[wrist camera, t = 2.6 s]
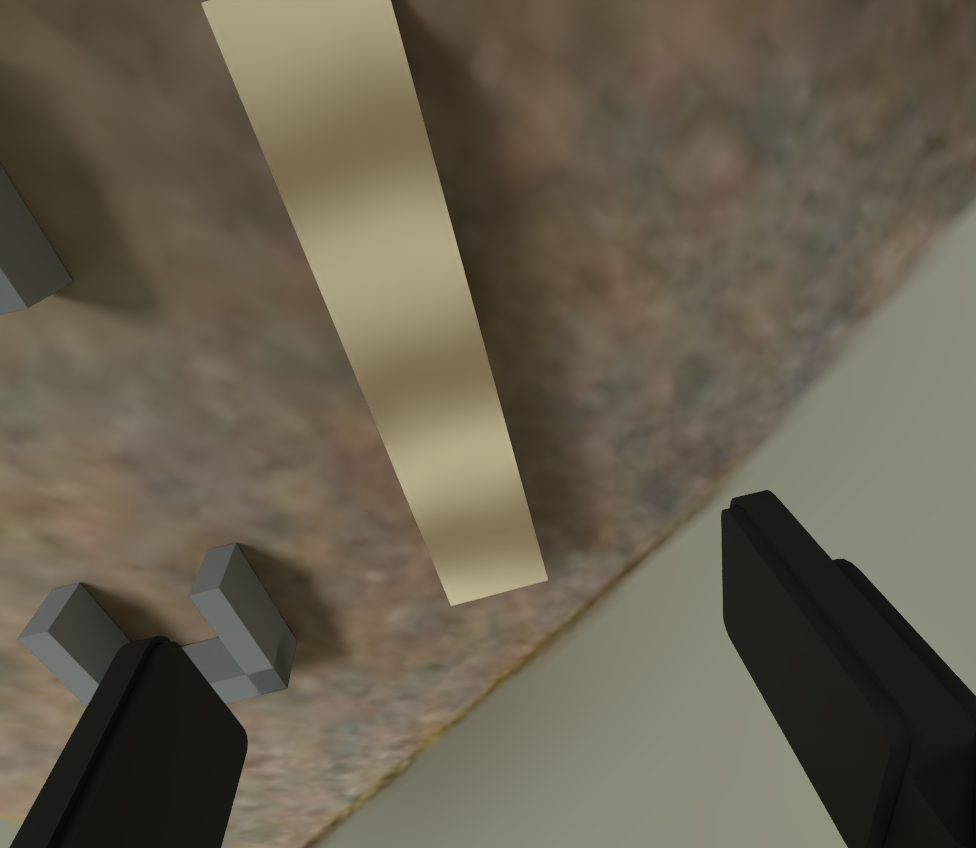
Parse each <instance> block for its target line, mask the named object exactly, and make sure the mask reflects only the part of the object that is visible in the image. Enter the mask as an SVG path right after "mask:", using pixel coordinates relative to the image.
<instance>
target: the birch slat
mask: <svg viewBox="0 0 976 848" xmlns="http://www.w3.org/2000/svg"><path fill="white" fill-rule="evenodd" d="M201 4H202V7H203V9H204V12H205V14H206V16H207V19H208V21H209V24H210V26H211V28H212V31H213V33H214V36H215V38H216V40H217V43H218V45H219V48H220V50H221V53H222V55H223V57H224V60H225V62H226V65H227V67H228V69H229V72H230V74H231V77H232V79H233V81H234V84H235V86H236V89H237V91H238V94H239V96H240V98H241V101H242V103H243V106H244V108H245V110H246V113H247V115H248V118H249V120H250V122H251V125H252V127H253V130H254V132H255V134H256V137H257V139H258V142H259V144H260V147H261V149H262V151H263V154H264V156H265V159H266V161H267V163H268V166H269V168H270V171H271V173H272V175H273V178H274V180H275V183H276V185H277V188H278V190H279V192H280V195H281V197H282V200H283V202H284V204H285V207H286V209H287V212H288V214H289V216H290V219H291V221H292V224H293V226H294V228H295V231H296V233H297V236H298V238H299V241H300V243H301V245H302V248H303V250H304V253H305V255H306V257H307V260H308V262H309V265H310V267H311V269H312V272H313V274H314V277H315V279H316V282H317V284H318V286H319V289H320V291H321V294H322V296H323V298H324V301H325V303H326V306H327V308H328V310H329V313H330V315H331V318H332V320H333V322H334V325H335V327H336V330H337V332H338V335H339V337H340V339H341V342H342V344H343V347H344V349H345V351H346V354H347V356H348V359H349V361H350V363H351V366H352V368H353V371H354V373H355V376H356V378H357V380H358V383H359V385H360V388H361V390H362V392H363V395H364V397H365V400H366V402H367V404H368V407H369V409H370V412H371V414H372V417H373V419H374V421H375V424H376V426H377V429H378V431H379V433H380V436H381V438H382V441H383V443H384V445H385V448H386V450H387V453H388V455H389V457H390V460H391V462H392V465H393V467H394V470H395V472H396V474H397V477H398V479H399V482H400V484H401V486H402V489H403V491H404V494H405V496H406V498H407V501H408V503H409V506H410V508H411V511H412V513H413V515H414V518H415V520H416V523H417V525H418V527H419V530H420V532H421V535H422V537H423V539H424V542H425V544H426V547H427V549H428V551H429V554H430V556H431V559H432V561H433V564H434V566H435V568H436V571H437V573H438V576H439V578H440V580H441V583H442V585H443V588H444V590H445V592H446V595H447V597H448V600H449V602H450V605H451V606H453V605H457V604H461V603H464V602H468V601H472V600H476V599H480V598H483V597H487V596H491V595H495V594H498V593H502V592H506V591H510V590H514V589H517V588H521V587H525V586H529V585H532V584H536V583H540V582H544V581H548V578H547V574H546V571H545V567H544V563H543V560H542V556H541V552H540V549H539V545H538V541H537V538H536V534H535V530H534V527H533V523H532V519H531V515H530V512H529V508H528V504H527V501H526V497H525V493H524V490H523V486H522V482H521V479H520V475H519V471H518V467H517V464H516V460H515V456H514V453H513V449H512V445H511V442H510V438H509V434H508V431H507V427H506V423H505V419H504V416H503V412H502V408H501V405H500V401H499V397H498V394H497V390H496V386H495V383H494V379H493V375H492V372H491V368H490V364H489V360H488V357H487V353H486V349H485V346H484V342H483V338H482V335H481V331H480V327H479V324H478V320H477V316H476V312H475V309H474V305H473V301H472V298H471V294H470V290H469V287H468V283H467V279H466V276H465V272H464V268H463V265H462V261H461V257H460V253H459V250H458V246H457V242H456V239H455V235H454V231H453V228H452V224H451V220H450V217H449V213H448V209H447V205H446V202H445V198H444V194H443V191H442V187H441V183H440V180H439V176H438V172H437V169H436V165H435V161H434V158H433V154H432V150H431V146H430V143H429V139H428V135H427V132H426V128H425V124H424V121H423V117H422V113H421V110H420V106H419V102H418V98H417V95H416V91H415V87H414V84H413V80H412V76H411V73H410V69H409V65H408V62H407V58H406V54H405V50H404V47H403V43H402V39H401V36H400V32H399V28H398V25H397V21H396V17H395V14H394V10H393V6H392V3H391V0H209V1H205V2H202V3H201Z"/></svg>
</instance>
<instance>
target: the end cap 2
mask: <svg viewBox="0 0 976 848" xmlns="http://www.w3.org/2000/svg"><path fill="white" fill-rule="evenodd" d="M188 596H189V597H190V599H191V600H192V601H193V603H194V604H195V606H196V607H197V608H198V610H199V611H200V612H201V614H202V615H203V616H204V618H205V619H206V621H207V622H208V623H209V625H210V626H211V627H212V629H213V630H214V632H215V633H216V634H217V636H218V638H214V639H210V640H206V641H202V642H198V643H194V644H190V645H186V646H182V649H183V650H184V651H185V652H186V654H187V655H188V656H189V658H190V659H191V660H192V662H193V663H194V664H195V665H196V667H197V668H198V669H199V671H200V672H201V673H202V675H203V676H204V677H205V678H206V680H207V681H208V682H209V684H210V685H211V686H212V688H213V689H214V690H215V691H216V693H217V694H218V695H219V697H220V698H221V699H222V701H223V702H224V703H225V704H228V703H232V702H236V701H240V700H244V699H248V698H252V697H256V696H260V695H264V694H268V693H272V692H276V691H280V690H284V689H287V688H288V683H289V678H290V673H291V668H292V663H293V659H294V654H295V649H296V644H297V640H296V639H295V637H294V636H293V634H292V632H291V631H290V629H289V628H288V626H287V624H286V623H285V621H284V619H283V618H282V616H281V615H280V613H279V611H278V610H277V608H276V607H275V605H274V603H273V602H272V600H271V599H270V597H269V595H268V594H267V592H266V591H265V589H264V587H263V586H262V584H261V583H260V581H259V579H258V578H257V576H256V574H255V573H254V571H253V570H252V568H251V566H250V565H249V563H248V562H247V560H246V558H245V557H244V555H243V554H242V552H241V550H240V549H239V547H238V546H237V544H236V543H234V544H230V545H226V546H222V547H218V548H214V549H210V550H208V552H207V554H206V556H205V559H204V561H203V563H202V566H201V568H200V570H199V572H198V575H197V577H196V579H195V582H194V584H193V586H192V589H191V591H190V593H189V595H188ZM17 639H18V640H19V641H20V642H21V643H22V644H23V645H24V646H25V647H26V648H27V649H28V650H29V651H30V652H31V653H32V654H33V655H34V656H35V657H36V658H37V659H38V660H39V661H40V662H41V663H42V664H43V665H44V666H45V667H46V668H47V669H48V670H49V671H50V672H51V673H52V674H53V675H54V676H55V677H56V678H57V679H58V680H59V681H61V682H62V683H63V684H64V685H65V686H66V687H67V688H68V689H69V690H70V691H71V692H72V693H73V694H74V695H75V696H76V697H77V698H78V699H79V700H80V701H81V702H82V703H83V704H84V705H85V706H86V707H87V706H88V704H89V702H90V700H91V699H92V697H93V695H94V693H95V691H96V690H97V688H98V686H99V684H100V682H101V680H102V679H103V677H104V675H105V673H106V671H107V670H108V668H109V666H110V664H111V662H112V660H113V659H114V657H115V655H116V653H117V652H118V651H119V649H120V648H121V647H122V646H123V645H125V644H127V643H131V642H130V641H129V639H128V638H127V637H126V636H125V635H124V634H123V632H122V631H121V630H120V629H119V628H118V627H117V625H116V624H115V623H114V622H113V621H112V620H111V618H110V617H109V616H108V615H107V614H106V613H105V612H104V610H103V609H102V608H101V607H100V606H99V605H98V603H97V602H96V601H95V600H94V599H93V598H92V596H91V595H90V594H89V593H88V592H87V591H86V589H85V588H84V587H83V586H82V585H81V584H80V583H76V584H72V585H68V586H65V587H61V588H57V589H53V590H52V591H51V592H50V593H49V595H48V596H47V598H46V599H45V600H44V602H43V603H42V605H41V606H40V607H39V609H38V610H37V612H36V613H35V614H34V616H33V617H32V619H31V620H30V622H29V623H28V624H27V626H26V627H25V629H24V630H23V631H22V633H21V634H20V636H19V637H18V638H17Z"/></svg>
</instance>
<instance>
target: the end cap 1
mask: <svg viewBox="0 0 976 848" xmlns="http://www.w3.org/2000/svg"><path fill="white" fill-rule="evenodd" d="M72 282H73V280H72V279H71V277H70V275H69V274H68V272H67V271H66V269H65V267H64V266H63V264H62V263H61V261H60V259H59V258H58V256H57V255H56V253H55V251H54V250H53V248H52V246H51V245H50V243H49V242H48V240H47V238H46V237H45V235H44V234H43V232H42V230H41V229H40V227H39V226H38V224H37V222H36V221H35V219H34V218H33V216H32V214H31V213H30V211H29V209H28V208H27V206H26V205H25V203H24V201H23V200H22V198H21V197H20V195H19V193H18V192H17V190H16V189H15V187H14V185H13V184H12V182H11V181H10V179H9V177H8V176H7V174H6V173H5V171H4V169H3V168H2V166H1V164H0V315H3V314H7V313H11V312H15V311H19V310H23V309H26V308H29V307H31V306H32V305H34V304H36V303H37V302H39V301H41V300H43V299H44V298H46V297H48V296H50V295H51V294H53V293H55V292H56V291H58V290H60V289H62V288H63V287H65V286H67V285H69V284H70V283H72Z"/></svg>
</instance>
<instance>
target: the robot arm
mask: <svg viewBox="0 0 976 848" xmlns="http://www.w3.org/2000/svg"><path fill="white" fill-rule="evenodd" d="M721 527H722V577H723V579H722V580H723V619H724V624H725V627H726V630H727V633H728V635H729V637H730V639H731V641H732V643H733V645H734V647H735V648H736V650H737V652H738V654H739V655H740V657H741V659H742V661H743V663H744V664H745V666H746V668H747V670H748V671H749V673H750V675H751V677H752V678H753V680H754V682H755V683H756V686H757V687H758V689H759V691H760V693H761V694H762V696H763V698H764V700H765V701H766V703H767V705H768V707H769V709H770V710H771V712H772V714H773V716H774V717H775V719H776V721H777V723H778V724H779V726H780V728H781V730H782V732H783V733H784V735H785V737H786V739H787V740H788V742H789V744H790V746H791V748H792V749H793V751H794V753H795V755H796V756H797V758H798V760H799V762H800V763H801V765H802V767H803V768H804V771H805V772H806V774H807V776H808V778H809V779H810V781H811V783H812V785H813V787H814V788H815V790H816V792H817V794H818V795H819V797H820V799H821V801H822V802H823V804H824V806H825V808H826V810H827V811H828V813H829V815H830V817H831V818H832V820H833V822H834V824H835V826H836V827H837V829H838V831H839V833H840V834H841V836H842V838H843V840H844V842H845V843H846V845H847V846H848V848H976V696H975V695H974V694H973V693H972V692H971V690H970V689H969V688H968V687H967V686H966V685H965V684H964V683H963V682H962V681H961V680H960V678H959V677H958V676H957V675H956V674H955V673H954V672H953V671H952V670H951V669H950V668H949V666H948V665H947V664H946V663H945V662H944V661H943V660H942V659H941V658H940V657H939V656H938V655H937V653H936V652H935V651H934V650H933V649H932V648H931V647H930V646H929V645H928V644H927V643H926V641H925V640H923V638H922V637H921V636H920V635H919V634H918V633H917V632H916V631H915V629H914V628H913V627H912V626H911V625H910V624H909V623H908V622H907V621H906V620H905V619H904V618H903V616H902V615H901V614H900V613H899V612H898V611H897V610H896V609H895V608H894V607H893V606H892V605H891V603H889V601H888V600H887V599H886V598H885V597H884V596H883V595H882V594H881V592H880V591H879V590H878V589H877V588H876V587H875V586H874V585H873V584H872V583H871V582H870V581H869V580H868V578H867V577H866V576H865V575H864V574H863V573H862V572H861V571H860V570H859V569H858V568H857V567H856V566H855V565H853V564H852V563H851V562H849V561H847V560H845V559H835V560H832V559H831V558H830V557H829V556H828V555H827V554H826V552H825V551H824V550H823V549H822V548H821V547H820V546H819V545H818V544H817V542H816V541H815V540H814V539H813V538H812V537H811V535H810V534H809V533H808V532H807V531H806V530H805V529H804V527H803V526H802V525H801V524H800V523H799V522H798V521H797V519H796V518H795V517H794V516H793V515H792V514H791V513H790V512H789V510H788V509H787V508H786V507H785V506H784V505H783V504H782V502H781V501H780V500H779V499H778V498H777V497H776V496H775V495H774V494H773V493H772V492H771V491H768V490H765V491H761V492H757V493H753V494H748V495H744V496H740V497H736V498H733V499H732V501H731V504H730V508H729V509H725V510H723V511H722V514H721ZM247 746H248V741H247V735H246V731H245V730H244V728H243V726H242V725H241V724H240V723H239V721H238V720H237V719H236V717H235V716H234V715H233V714H232V712H231V711H230V710H229V708H228V707H227V706H226V704H225V703H224V702H223V701H222V699H221V698H220V697H219V695H218V694H217V693H216V691H215V690H214V689H213V688H212V686H211V685H210V684H209V682H208V681H207V680H206V678H205V677H204V676H203V675H202V673H201V672H200V671H199V669H198V668H197V667H196V665H195V664H194V663H193V662H192V660H191V659H190V658H189V656H188V655H187V654H186V652H185V651H184V650H183V649H182V647H181V646H180V645H179V644H178V643H177V642H171V641H170V640H169V639H168V638H167V637H164V636H156V637H152V638H148V639H144V640H139V641H135V642H131V643H127V644H125V645H123V646H122V647H121V648H120V649H119V651H118V652H117V653H116V655H115V657H114V659H113V660H112V662H111V664H110V666H109V668H108V670H107V671H106V673H105V675H104V677H103V679H102V680H101V682H100V684H99V686H98V688H97V690H96V691H95V693H94V695H93V697H92V699H91V700H90V702H89V704H88V706H87V708H86V710H85V711H84V713H83V715H82V717H81V719H80V720H79V722H78V724H77V726H76V728H75V730H74V731H73V733H72V735H71V737H70V739H69V740H68V742H67V744H66V746H65V748H64V749H63V751H62V753H61V755H60V757H59V759H58V760H57V762H56V764H55V766H54V768H53V769H52V771H51V773H50V775H49V777H48V779H47V780H46V782H45V784H44V786H43V788H42V789H41V791H40V793H39V795H38V797H37V799H36V800H35V802H34V804H33V806H32V808H31V809H30V811H29V813H28V815H27V817H26V819H25V820H24V822H23V824H22V826H21V828H20V829H19V831H18V833H17V835H16V837H15V839H14V840H13V842H12V844H11V846H10V848H221V846H222V842H223V838H224V835H225V831H226V827H227V824H228V820H229V816H230V812H231V809H232V805H233V801H234V798H235V794H236V790H237V786H238V783H239V779H240V775H241V772H242V768H243V764H244V760H245V757H246V753H247Z"/></svg>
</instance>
